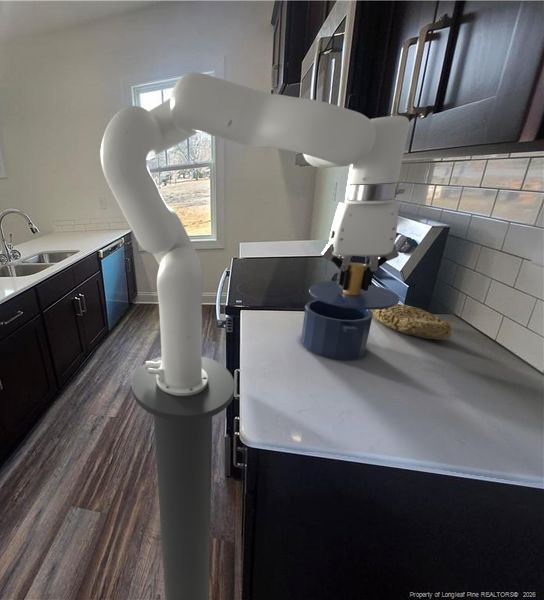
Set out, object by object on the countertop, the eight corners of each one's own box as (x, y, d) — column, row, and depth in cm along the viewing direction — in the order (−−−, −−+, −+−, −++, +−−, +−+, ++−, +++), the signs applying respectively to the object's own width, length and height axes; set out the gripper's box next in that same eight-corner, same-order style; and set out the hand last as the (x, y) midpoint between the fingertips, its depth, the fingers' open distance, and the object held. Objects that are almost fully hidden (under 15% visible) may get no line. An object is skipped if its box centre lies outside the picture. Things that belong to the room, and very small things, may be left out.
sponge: (359, 319, 100) (401, 337, 81) (366, 295, 99) (410, 307, 79) (404, 327, 99) (457, 346, 79) (411, 302, 97) (467, 316, 78)
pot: (311, 363, 77) (317, 324, 73) (294, 327, 95) (298, 295, 91) (379, 368, 74) (389, 327, 70) (348, 329, 92) (355, 296, 88)
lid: (318, 311, 60) (324, 275, 58) (301, 285, 74) (305, 255, 72) (415, 314, 56) (425, 276, 54) (378, 286, 70) (384, 255, 68)
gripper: (411, 190, 59) (390, 283, 66) (315, 195, 64) (304, 282, 70) (434, 192, 53) (408, 295, 59) (325, 197, 57) (312, 293, 63)
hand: (352, 287), depth 65 cm, fingers closed on lid, 3 cm apart
